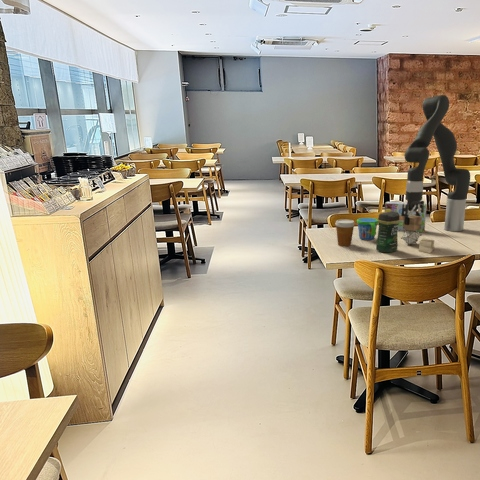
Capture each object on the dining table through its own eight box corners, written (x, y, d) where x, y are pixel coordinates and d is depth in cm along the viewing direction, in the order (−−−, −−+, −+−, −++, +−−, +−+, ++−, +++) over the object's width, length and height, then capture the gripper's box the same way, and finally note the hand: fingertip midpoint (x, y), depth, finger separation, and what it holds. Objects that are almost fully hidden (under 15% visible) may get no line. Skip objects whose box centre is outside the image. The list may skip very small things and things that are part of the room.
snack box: (424, 230, 238) (427, 203, 234) (422, 232, 234) (425, 205, 230) (385, 226, 249) (386, 201, 245) (382, 229, 245) (384, 202, 241)
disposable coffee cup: (330, 243, 219) (331, 220, 216) (346, 241, 223) (347, 218, 220) (342, 248, 211) (342, 224, 207) (358, 245, 214) (359, 221, 211)
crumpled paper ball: (413, 252, 213) (423, 239, 205) (397, 246, 213) (406, 233, 206) (415, 239, 218) (424, 226, 211) (398, 233, 219) (408, 220, 211)
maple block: (422, 248, 205) (423, 238, 204) (433, 250, 202) (434, 240, 201) (418, 251, 202) (419, 241, 201) (430, 253, 199) (430, 242, 197)
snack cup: (352, 235, 233) (353, 216, 231) (371, 234, 234) (372, 216, 231) (361, 243, 218) (362, 223, 216) (382, 242, 218) (383, 222, 216)
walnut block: (410, 226, 215) (411, 214, 213) (421, 228, 210) (422, 216, 209) (402, 228, 212) (403, 216, 210) (413, 230, 207) (414, 218, 205)
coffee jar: (387, 254, 199) (389, 214, 194) (373, 250, 205) (375, 212, 200) (400, 250, 204) (403, 211, 199) (386, 246, 210) (388, 209, 205)
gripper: (416, 187, 213) (413, 220, 217) (398, 191, 205) (396, 224, 209) (430, 189, 207) (427, 222, 211) (412, 192, 199) (409, 227, 203)
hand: (412, 223), depth 210 cm, fingers open, 8 cm apart
